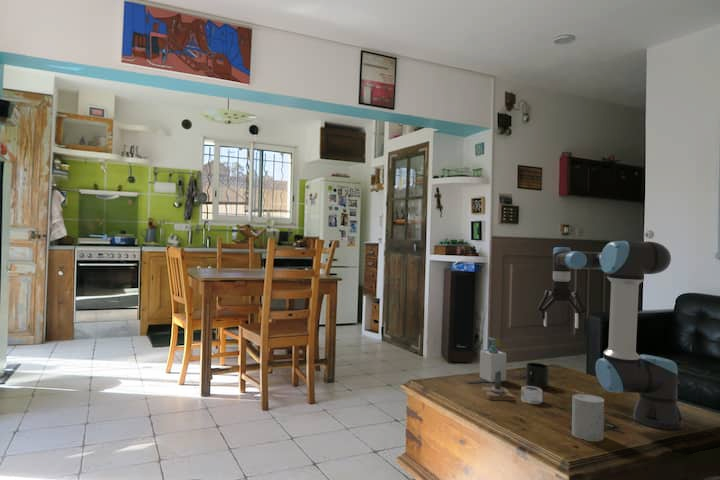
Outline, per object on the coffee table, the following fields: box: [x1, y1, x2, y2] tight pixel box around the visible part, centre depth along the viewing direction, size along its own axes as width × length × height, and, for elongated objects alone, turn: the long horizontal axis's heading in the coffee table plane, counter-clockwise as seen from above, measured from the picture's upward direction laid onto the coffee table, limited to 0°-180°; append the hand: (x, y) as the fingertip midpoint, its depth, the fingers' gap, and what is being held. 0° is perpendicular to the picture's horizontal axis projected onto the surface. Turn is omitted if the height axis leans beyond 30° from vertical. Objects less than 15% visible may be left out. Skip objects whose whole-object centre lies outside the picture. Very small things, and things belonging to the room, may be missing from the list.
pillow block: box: [481, 371, 515, 401], centre depth 194 cm, size 12×10×10 cm
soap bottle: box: [479, 336, 507, 383], centre depth 220 cm, size 9×9×19 cm
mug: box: [525, 362, 550, 389], centre depth 211 cm, size 9×12×9 cm
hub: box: [520, 385, 543, 405], centre depth 188 cm, size 7×7×5 cm
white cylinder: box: [571, 392, 606, 442], centre depth 153 cm, size 10×10×12 cm
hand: (560, 327), depth 214 cm, fingers open, 13 cm apart
